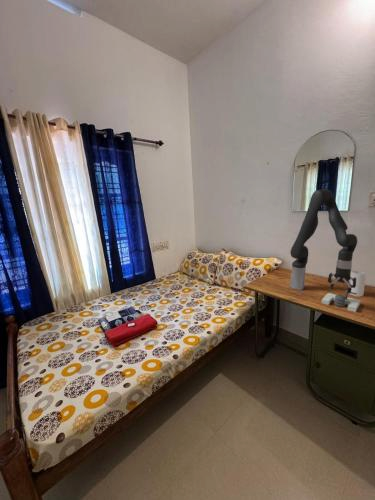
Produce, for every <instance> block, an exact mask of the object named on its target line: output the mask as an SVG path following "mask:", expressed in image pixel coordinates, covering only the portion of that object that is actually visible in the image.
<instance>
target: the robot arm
mask: <svg viewBox="0 0 375 500" xmlns="http://www.w3.org/2000/svg"><path fill="white" fill-rule="evenodd" d="M322 205H324V207H325V208H326V209H327V214H328V221H329V224H330V226H331V228H332V230H333V232H334V235H335V240H336V242H337V244H338V245H339V246H340V247H342V248H341V249H340V250H338V253H337V254H338V255H337V260H336V265H335V273H333V272H330V273H329V274H328V278H327V283H329V284H330V289H331V290H334V288H335V283H336V282H338V283H343V284H346V285H347V286H348V288H347V290H348V294H349V293H350V292H351V289H352V288H355V287H356V277H355V278H352V277H351V271H352V266H353V263H352V262H353V255H354V252H355V251H356V250H355V249H356V248H357V245H358V237H357V236H356V235H355V234H354V233H348V234H347V230H348V224H347V223H346V222H345V220H344V218H343V217H342V215H341V213H340V210H339V208H338V207H339V206H338V204H337V202H336V199H335V196H334V194H333V192H332V190H331V189H317V190H315V191H314V192H313V193H312V194H311V197H310V200H309V204H308V208H307V211H306V214H305V216H304V219H303V221H302V223H301V226H300V230H299V232H298V233H297V237H296V239H295V241H294V243H293V244H292V246H291V248H290V253H289V254H290V256H291V257H292V258H293V259H294V261H293V262H292V265H291V275H290V277H289V278H290V279H289V280H290V281H289V288H290V289H293V290H297V291H302V290H304V289H305V281H306V270H307V269H306V266H307V264H308V259H309V248H308V247H307V246H306V245H305V244H306V243H307V242H308V241H309V239H310V238H311V237H312V236H313V235H314V234H315V233H316V230H317V228H318V225H319V217H318V215H319V211H320V208H321V206H322ZM333 277H334V279H333ZM332 279H333V280H332ZM350 279H351V280H352V281H353V285H351V283H350Z"/></svg>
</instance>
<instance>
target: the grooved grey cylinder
mask: <svg viewBox="0 0 375 500" xmlns="http://www.w3.org/2000/svg"><path fill="white" fill-rule="evenodd" d="M335 295H336V296H335V301H334V305H335V306H336V307H339V308H343V307H345V306H346V304H345V299H346V298H345V295H342V294H335Z"/></svg>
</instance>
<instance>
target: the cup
mask: <svg viewBox="0 0 375 500" xmlns="http://www.w3.org/2000/svg"><path fill="white" fill-rule="evenodd" d="M366 276H367V272H366V271H363V270H358V269H357V270H355V269H354V270H351V274H350V277H352V278H355V277H356V287H355V288H352V289H351V292H353V293H357V294H356V295H355V294H350V293H348V295H351V296H353V297H354V296H355V297H363V296H364V293H365V285H366ZM349 282H350V283H351V285H353V281H352V280H351V279H350V280H349Z"/></svg>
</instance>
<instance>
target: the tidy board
mask: <svg viewBox="0 0 375 500" xmlns="http://www.w3.org/2000/svg"><path fill="white" fill-rule="evenodd" d="M351 294H355V295H356V294H357V293H353V292H350V294H349V293H348V289H347V290H345V292H344V296H345V298H346V299H345V305H347V311H351V312H353V313H356V312H357V310H358V308H359V306H361V299H355V298H352V297H348V295H351ZM336 295H337V294H334V293H330V292H327V294H325V296H324V297H323V298H322V299H321V304H322V305H323V304H324V305H327V306H328V305H330V304H331V303H332V302H335V296H336Z"/></svg>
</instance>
